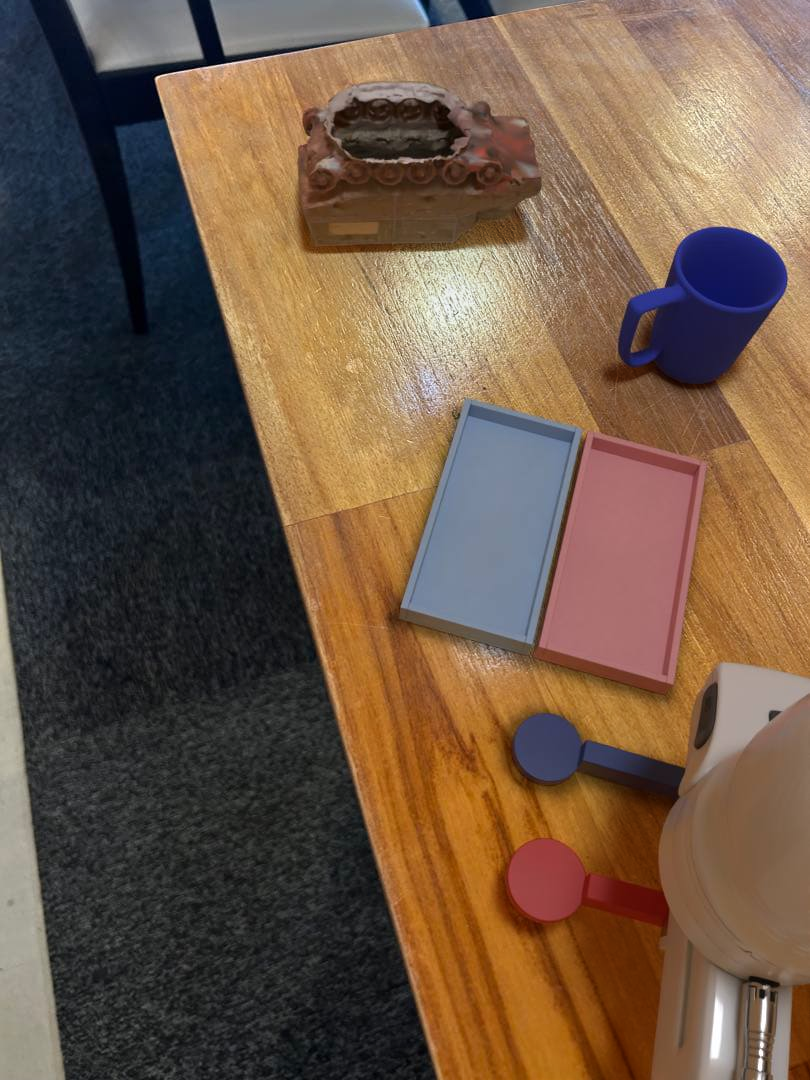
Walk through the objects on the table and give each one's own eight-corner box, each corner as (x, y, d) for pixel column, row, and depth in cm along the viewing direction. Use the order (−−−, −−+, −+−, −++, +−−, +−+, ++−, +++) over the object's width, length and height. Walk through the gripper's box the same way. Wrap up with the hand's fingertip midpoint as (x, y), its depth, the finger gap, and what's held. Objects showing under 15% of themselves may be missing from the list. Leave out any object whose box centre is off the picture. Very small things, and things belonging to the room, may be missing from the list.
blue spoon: (718, 767, 61) (732, 757, 59) (710, 834, 59) (724, 826, 57) (519, 709, 62) (525, 697, 60) (504, 774, 60) (510, 764, 58)
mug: (577, 345, 77) (608, 254, 68) (703, 306, 80) (748, 214, 71) (627, 423, 74) (666, 339, 65) (756, 379, 76) (811, 292, 68)
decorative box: (303, 147, 86) (299, 47, 77) (523, 161, 87) (544, 64, 78) (292, 255, 80) (287, 159, 71) (530, 269, 80) (553, 177, 72)
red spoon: (743, 894, 53) (759, 888, 51) (737, 978, 51) (753, 974, 49) (513, 832, 54) (519, 823, 52) (497, 911, 52) (503, 905, 50)
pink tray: (698, 475, 72) (707, 461, 70) (664, 695, 63) (673, 685, 61) (582, 444, 72) (588, 429, 71) (533, 657, 64) (538, 646, 62)
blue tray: (576, 443, 72) (582, 428, 71) (527, 656, 64) (532, 644, 62) (462, 412, 73) (465, 397, 71) (398, 619, 65) (400, 607, 63)
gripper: (846, 1185, 34) (718, 1151, 46) (859, 661, 43) (750, 748, 56) (670, 1134, 34) (590, 1113, 46) (721, 628, 44) (643, 721, 56)
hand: (677, 911), depth 51 cm, fingers closed on red spoon, 1 cm apart
